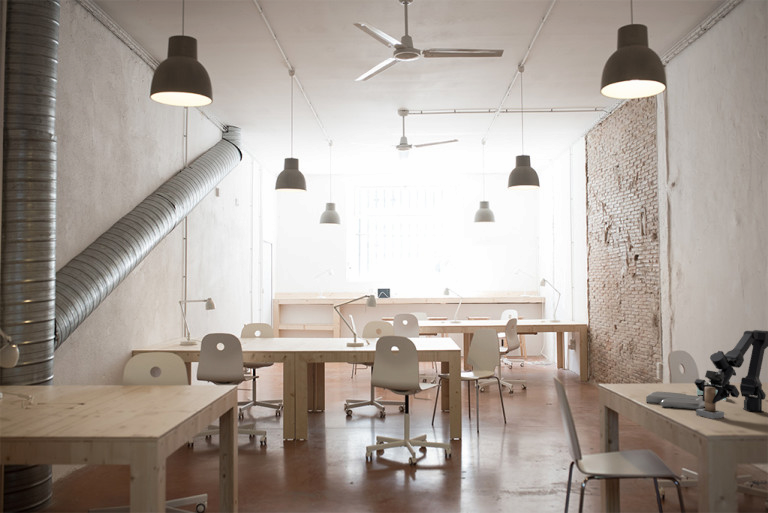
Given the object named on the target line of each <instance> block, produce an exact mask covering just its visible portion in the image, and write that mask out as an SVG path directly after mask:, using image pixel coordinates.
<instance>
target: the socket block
mask: <svg viewBox="0 0 768 513" xmlns="http://www.w3.org/2000/svg"><path fill="white" fill-rule="evenodd" d="M695 415H696V416H698V415H699V417H702V416H703V418H706V417H707V419H712V420H715V418H716V419H723V418H722V417H724V418H725V411H722V410H717V409H716V412H707V411H705V408H702V409H695Z"/></svg>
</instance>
